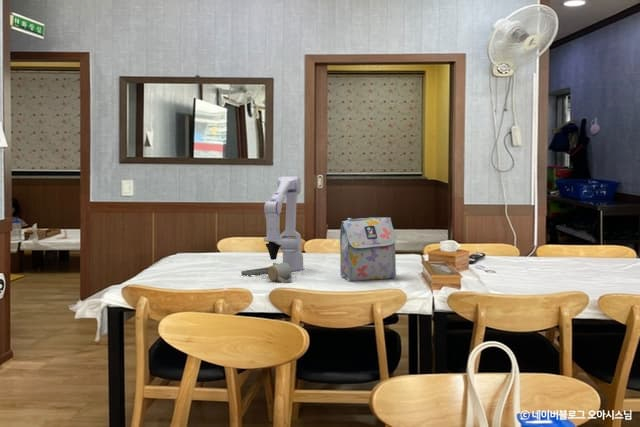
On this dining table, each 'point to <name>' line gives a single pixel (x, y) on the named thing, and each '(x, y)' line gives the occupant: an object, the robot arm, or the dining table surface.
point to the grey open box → (255, 271)
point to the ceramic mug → (280, 273)
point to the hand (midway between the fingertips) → (273, 259)
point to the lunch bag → (367, 249)
